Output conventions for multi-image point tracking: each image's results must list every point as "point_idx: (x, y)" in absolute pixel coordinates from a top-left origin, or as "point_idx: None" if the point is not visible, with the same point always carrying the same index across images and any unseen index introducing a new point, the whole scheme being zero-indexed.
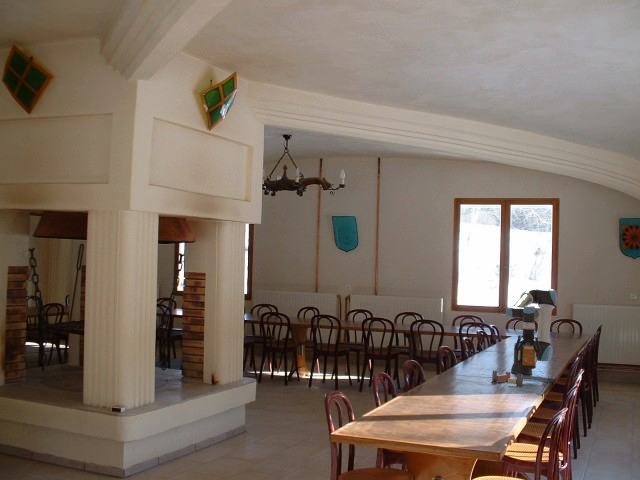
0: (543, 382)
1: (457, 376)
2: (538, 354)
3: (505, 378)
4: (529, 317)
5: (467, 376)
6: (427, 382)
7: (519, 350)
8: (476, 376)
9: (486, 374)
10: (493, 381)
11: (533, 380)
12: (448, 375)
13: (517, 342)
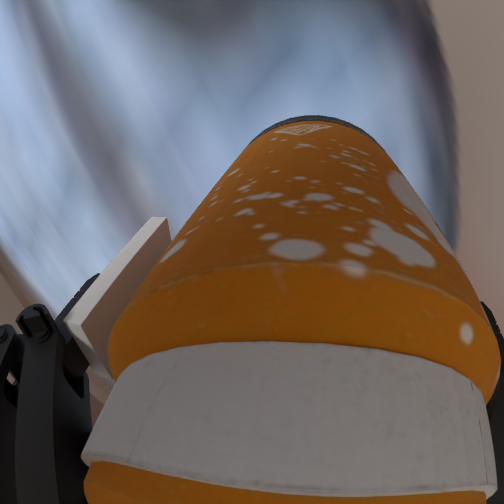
0: (415, 82)
1: (32, 281)
2: (502, 341)
3: None
4: None
5: (36, 254)
6: (102, 400)
7: (91, 360)
8: (41, 223)
9: (18, 121)
10: None
11: (316, 42)
12: (16, 282)
13: (10, 482)
